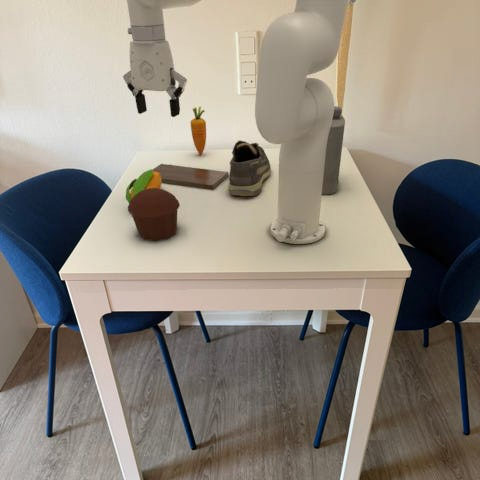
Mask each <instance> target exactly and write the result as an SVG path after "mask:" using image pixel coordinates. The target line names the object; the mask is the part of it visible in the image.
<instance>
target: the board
mask: <svg viewBox="0 0 480 480" xmlns="http://www.w3.org/2000/svg"><path fill="white" fill-rule="evenodd" d="M152 170H153V171H154V172H158V173H160V175H161V178H162V180H161V184H171V185H177V186H186V187H191V188H199V189H207V190H214V189H216V187H218V186H219V185H220V184H221V183H222V182H223V181H224V180H226V179H227V178H229V177H230V174H229V171H224V170H215V169H206V168H198V167H191V166H183V165H176V164H175V165H174V164H166V163H160V164H158V165H156V166H155V167H154V168H152Z"/></svg>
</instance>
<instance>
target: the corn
mask: <svg viewBox="0 0 480 480" xmlns="http://www.w3.org/2000/svg"><path fill="white" fill-rule="evenodd" d="M161 180H162V178H161V175H160V173H158V172H154V171H153V168H151V169H148V170H146V171H144V172H142V173H141V174H140V175H139V176H138V177H137V178H134V179H133V180H131V182H130V183H129V184H128V185H127V186H126V189H125V199H126V201H127V202H128V204H129V203H130V200H131V199H132V198H133V197H134V196H135V195H136V194H137V193H139V192H140V191H142V190H145V189H149V188H159V189H162V182H161Z"/></svg>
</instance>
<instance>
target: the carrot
mask: <svg viewBox="0 0 480 480" xmlns="http://www.w3.org/2000/svg"><path fill="white" fill-rule="evenodd" d="M192 112H193V114H194V118H192V119H191V120H190V131H191V137H192V141H193V145H194V148H195V149H196V151H197V154H199V155H200V156H202V155H203V154H204V151H205V147H206V144H207V143H206V142H207V122H206V120H205V119H204V118H203V117H202V115H203V113H205V110H204V109H202V107H201V106H198V109H197V107H196V106H194V107H193V108H192Z"/></svg>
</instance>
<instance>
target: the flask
mask: <svg viewBox="0 0 480 480" xmlns="http://www.w3.org/2000/svg"><path fill="white" fill-rule="evenodd" d="M342 113H343V109H342V107H341V106H337V105H336V106H335V105H334V114H333V119H332V123H331V127H330V131H329V135H328V140H327V147H326V155H325V165H324V174H323V185H322V195H333V194H335V193H337V191H338V185H339V177H340V170H341V160H342V151H343V145H344V144H343V142H344V134H345V128H346V127H345V125H346V119H345V117H344V116H343V115H342Z"/></svg>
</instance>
